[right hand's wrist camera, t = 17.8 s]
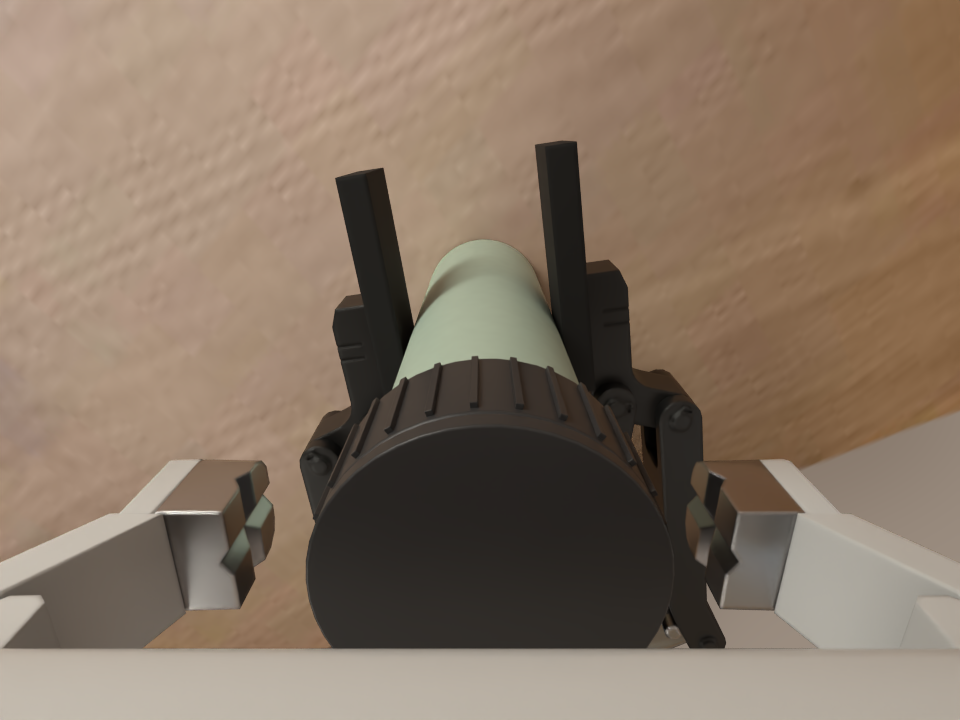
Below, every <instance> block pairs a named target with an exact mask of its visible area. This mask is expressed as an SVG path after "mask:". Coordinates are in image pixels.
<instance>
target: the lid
mask: <svg viewBox="0 0 960 720" xmlns="http://www.w3.org/2000/svg"><path fill="white" fill-rule="evenodd" d="M655 496H658V494H657V492H656V490H655V488H654V485H653V483H652V481H651V479H650V477H649V475H648V473H647V471H646V469H645V467H644V465H643V463H642V461H641V459H640V457H639V455H638V453H637V451H636V449H635V447H634V445H633V443H632V441H631V439H630V437H629V435H628V433H627V431H626V432H624V433H623V432H622V430H621V428H620V426H619V424H618V422H617V420H616V418H615V416H614V414H613V412H612V409H611V408H610V407H609V406H608V405H606V406H603V405H602V404H601V403H600V402H599V401H598V400H596V399H595V398H594V397H593V396H592V395H591V394H590V393H589V392H588V390H587V388H586V385H584V384H583V383H582V382H580V383H579V384H576V383H575V382H573V381H571V380H569V379H568V378H566V377H564V376H562V375H560V374H558V373H556V372H554V368H553V367H550V366H547V367H546V369H545V368H543V367H540V366H537V365H533V364H529V363H524V362H520V361H517V358H516V357H510V360H505V359H479V358H478V356H472V357H471V360H464V361H457V362H452V363H448V364H445V365H441V363H440V362H439V363H436V364H434V368H431V369H429V370H427V371H424V372H422V373H419V374H417V375H415V376H413V377H411V378H410V379H407V378H406V377H404V378H402V379H401V380H400V382H399V385H398V386H396V387H395V388H394V389H392V390H391V391H390V392H389V393H387V394H386V395H385V396H383V397H382V398H381V399H380V400H379V399H378V398H375V399H374V400H373V402H372V404H371V407H370V409H369V411H368V413H367V415H366V416H365V417H364V419H363V420H362V422H361V423H360V424H359V425H358V424H356V423H355V424H354V425H353V427H352V429H351V431H350V434H349V436H348V438H347V440H346V443H345V445H344V447H343V449H342V452H341V454H340V456H339V458H338V461H337V463H336V465H335V467H334V470H333V472H332V474H331V476H330V479H329V481H328V483H327V486H326V488H325V490H324V492H323V495H322V497H321V499H320V502H319V504H318V506H317V508H316V511H315V513H314V516H313V519H314V520H317V521H316V523H315V526H314V529H313V532H312V535H311V538H310V541H309V546H308V552H307V557H306V584H307V591H308V597H309V602H310V605H311V608H312V611H313V614H314V617H315V619H316V621H317V623H318V625H319V627H320V629H321V631H322V633H323V635H324V637H325V638H326V640H327V641H328V643H329V644H330V645H331V647H332V648H333V649H647V647H648V646H649V644H650V643H651V641H652V640H653V638H654V637H655V635H656V634H657V632H658V630H659V628H660V626H661V624H662V622H663V620H664V618H665V616H666V613H667V610H668V606H669V603H670V600H671V596H672V589H673V581H674V555H673V550H672V546H671V541H670V536H669V533H668V531H667V530H668V529H669V528H668V523H667V521H666V519H665V517H664V515H663V513H662V511H661V509H660V507H659V505H658V503H657V500H656V498H655Z"/></svg>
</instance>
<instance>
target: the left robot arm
mask: <svg viewBox="0 0 960 720" xmlns="http://www.w3.org/2000/svg"><path fill="white" fill-rule="evenodd" d="M535 149H536V159H537V169H538V179H539V189H540V199H541V209H542V218H543V228H544V238H545V248H546V258H547V268H548V278H549V288H550V298H551V308H552V317H553V319H554V322H555V324H556V327H557V329H558V332H559V334H560V337H561V340H562V342H563V345H564V347H565V350H566V352H567V355H568V357H569V360H570V362H571V365H572V367H573V370H574V372H575V375H576V377H577V380H578V383H580V382H582V383H583V384H584V385H586V388H587V390H588V392H589V393H590V394H591V395H592V396H593V397H594V398H595V399H596V400H598V401H599V402H600V403H601V404H602V405H603V406H606V405H608V406H609V407H610V408H611V409H612V412H613V414H614V416H615V418H616V420H617V422H618V424H619V426H620V428H621V430H622V432H623V433H624V432H626V431H627V433H628V435H629V437H630V439H631V438H632V433H633V427H634V424H637V425H641V438H642V452H643V465H644V467H645V469H646V471H647V473H648V475H649V477H650V479H651V481H652V483H653V485H654V488H655V490H656V492H657V494H658V496H655V498H656V500H657V503H658V505H659V507H660V509H661V511H662V513H663V515H664V517H665V519H666V521H667V523H668V528H669V529H668V530H667V531H668V533H669V536H670V541H671V546H672V550H673V555H674V581H673V589H672V596H671V600H670V603H669V606H668V610H667V613H666V616H665V618H664V620H663V622H662V624H661V626H660V628H659V630H658V632H657V634H656V635H655V637H654V638H653V640H652V641H651V643H650V644H649V646H648V647H647V649H672V648H674V647H677V646H679V645H682V644H684V643H687V644H688V646H689V648H690V649H724V648H725V645H726V641H725V637H724V635H723V633H722V631H721V629H720V627H719V625H718V623H717V621H716V619H715V617H714V615H713V612H712V610H711V608H710V606H709V604H708V602H707V593H706V581H705V579H704V578H705V572H706V567H705V566H704V565H702V564H701V563H699V562H698V561H696V560H695V559H694V557H693V555H692V553H691V551H690V548H689V545H688V541H687V538H686V527H685V518H686V509H687V504H688V503H689V502H690V501H691V500H692V499H693V498H694V497H695V496H696V495H697V493H696V491H695V490H694V488H693V486H692V485H691V483H690V482H691V476H692V471H693V468H694V466H695V463H696V462H700V461H703V433H702V415H701V411H700V410H699V408H698V407H697V406H696V405H695V403H694V402H693V401H692V399H691V398H690V397H689V396H688V394H687V393H686V392H685V391H684V389H683V388H682V387H681V386H680V384H679V383H678V382H677V381H676V380H675V378H674V377H673V376H672V375H671V374H670V373H669V372H667V371H665V370H653V371H650V372H646V371H641V370H637V369H634V368H632V362H631V342H630V324H629V309H628V306H629V303H628V287H627V285H626V283H625V281H624V279H623V277H622V275H621V273H620V271H619V270H618V269H617V268H616V267H615V266H614V265H613V264H612V263H611V262H610V261H609V260H603V261H596V262H589V263H586V257H585V244H584V231H583V218H582V205H581V192H580V178H579V165H578V152H577V142H575V141H557V142H550V143H543V144H537V145H535ZM335 180H336V184H337V189H338V193H339V198H340V202H341V207H342V211H343V216H344V220H345V225H346V229H347V233H348V238H349V242H350V247H351V251H352V256H353V260H354V265H355V269H356V274H357V278H358V283H359V287H360V292H361V294H358V295H351V296H346V297H345V298H344V299H343V301H342V302H341V303H340V304H339V305H338V307H337V308H336V309H335V314H334V320H333V326H332V328H333V332H334V336H335V340H336V344H337V346H338V353H339V357H340V359H341V365H342V369H343V373H344V377H345V381H346V385H347V389H348V393H349V397H350V401H351V406H350V407H348V408H346V409H344V410H342V411H332V412H329V413H327V414H326V415H325V416H324V417H323V418H322V420H321V422H320V424H319V425H318V427H317V429H316V431H315V432H314V434H313V436H312V438H311V439H310V441H309V443H308V445H307V447H306V449H305V450H304V452H303V454H302V456H301V458H300V469H301V472H302V476H303V480H304V483H305V487H306V491H307V494H308V498H309V502H310V505H311V509H312V513H313V516H314V513H315V511H316V508H317V506H318V504H319V502H320V499H321V497H322V495H323V492H324V490H325V488H326V486H327V483H328V481H329V479H330V476H331V474H332V472H333V470H334V467H335V465H336V463H337V461H338V458H339V456H340V454H341V452H342V449H343V447H344V445H345V443H346V440H347V438H348V436H349V434H350V431H351V429H352V427H353V425H354V424H355V423H356V424H358V425H359V424H360V423H361V422H362V420H363V419H364V417H365V416H366V415H367V413H368V411H369V409H370V407H371V404H372V402H373V400H374V399H375V398H378V399H379V400H380V399H381V398H382V397H383V396H385V395H386V394H387V393H389V392H390V391H391V390H392V389H393V386H394V383H395V380H396V377H397V375H398V372H399V369H400V366H401V363H402V360H403V358H404V355H405V352H406V349H407V346H408V343H409V341H410V338H411V335H412V332H413V329H414V324H413V319H412V314H411V309H410V303H409V298H408V293H407V288H406V283H405V277H404V272H403V267H402V262H401V257H400V252H399V246H398V241H397V236H396V231H395V226H394V220H393V215H392V210H391V205H390V200H389V195H388V189H387V184H386V179H385V174H384V169H383V168H378V169H372V170H365V171H359V172H355V173H351V174H348V175H344V176H341V177H337V178H335ZM316 521H317V520H315V523H316Z"/></svg>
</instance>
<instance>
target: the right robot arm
mask: <svg viewBox="0 0 960 720" xmlns="http://www.w3.org/2000/svg"><path fill="white" fill-rule="evenodd" d="M269 483H270V482H269V477H268V472H267V467H266V465H265V464H264V463H263V462H262V461H254V460H202V459H181V460H172V461H169V462H168V463H167V464H166V465H165V466H164V467H163V468H162V470H161V471H160V472H159V473H158V474H157V475H156V476H155V477H154V478H153V479H152V480H151V481H150V482H149V483H148V484H147V485H146V486H145V487H144V488H143V489H142V490H141V491H140V492H139V493H138V494H137V495H136V496H135V497H134V499H133V500H132V501H131V502H130V503H129V504H128V505H127V506H126V507H125V508H124V509H123V510H122V511H121V512H120V513H114V514H107V515H105V516H103V517H100V518H98V519H96V520H94V521H92V522H89V523H87V524H85V525H83V526H80V527H78V528H76V529H74V530H72V531H69V532H67V533H65V534H63V535H60V536H58V537H56V538H54V539H52V540H49V541H47V542H45V543H43V544H40V545H38V546H36V547H34V548H32V549H29V550H27V551H25V552H23V553H20V554H18V555H16V556H14V557H12V558H9V559H7V560H5V561H3V562H0V720H960V563H959V562H957V561H955V560H953V559H950V558H948V557H946V556H944V555H942V554H939V553H937V552H935V551H933V550H930V549H928V548H926V547H924V546H922V545H919V544H917V543H915V542H913V541H911V540H908V539H906V538H904V537H902V536H899V535H897V534H895V533H893V532H891V531H888V530H886V529H884V528H882V527H879V526H877V525H875V524H873V523H871V522H868V521H866V520H864V519H862V518H860V517H857V516H855V515H853V514H846V513H844V514H843V513H840V512H839V511H838V510H837V509H836V508H835V507H834V506H833V505H832V504H831V503H830V502H829V501H828V499H827V498H826V497H825V496H824V495H823V494H822V493H821V492H820V491H819V490H818V489H817V488H816V487H815V486H814V485H813V484H812V483H811V482H810V481H809V480H808V479H807V478H806V477H805V476H804V475H803V474H802V472H801V471H800V470H799V469H798V468H797V467H796V466H795V465H794V464H793V463H792V462H791V461H788V460H785V459H768V460H732V461H700V462H696V463H695V466H694V468H693V471H692V476H691V482H690V483H691V485H692V486H693V488H694V490H695V491H696V493H697V495H696V496H695V497H694V498H693V499H692V500H691V501H690V502H689V503H688V504H687V509H686V518H685V527H686V538H687V541H688V545H689V548H690V551H691V553H692V555H693V557H694V559H695V560H696V561H698V562H699V563H701V564H702V565H704V566H705V567H706V572H705V578H704V579H705V581H706V583H707V584H708V586H709V588H710V590H711V592H712V594H713V596H714V598H715V600H716V602H717V604H718V606H719V608H720V609H739V610H774V613H775V614H776V615H777V616H779V617H780V618H781V619H782V620H784V621H785V622H786V623H787V624H789V625H790V626H791V627H792V628H794V629H795V630H796V631H797V632H798V633H800V634H801V635H802V636H803V637H805V638H806V639H807V640H808V641H810V642H811V643H812V644H813V645H815V646H816V647H817V648H818V649H142V648H143V647H144V646H146V645H147V644H148V643H149V642H151V641H152V640H153V639H154V638H156V637H157V636H158V635H159V634H161V633H162V632H163V631H164V630H166V629H167V628H168V627H169V626H171V625H172V624H173V623H174V622H175V621H177V620H178V619H179V618H180V617H182V616H183V615H184V614H185V613H186V610H221V609H240V608H241V606H242V604H243V602H244V600H245V598H246V596H247V594H248V592H249V590H250V588H251V586H252V585H253V583H254V581H255V579H256V578H255V572H254V567H255V566H256V565H258V564H259V563H261V562H262V561H264V560H265V559H266V557H267V555H268V553H269V550H270V548H271V545H272V540H273V536H274V531H275V516H274V509H273V504H272V503H271V502H270V501H269V500H268V499H267V498H266V497H265V496H264V495H263V493H264V491H265V490H266V488H267V486H268V485H269Z"/></svg>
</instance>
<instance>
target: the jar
mask: <svg viewBox="0 0 960 720" xmlns="http://www.w3.org/2000/svg"><path fill="white" fill-rule="evenodd" d="M472 356H478V358H479V359H505V360H510V357H516V358H517V361H520V362H524V363H529V364H533V365H537V366H540V367H543V368H545V369H546V367H547V366H550V367H553V368H554V372H556V373H558V374H560V375H562V376H564V377H566V378H568V379H569V380H571V381H573V382H575V383H576V384H579V383H578V380H577V377H576V375H575V372H574V370H573V367H572V365H571V362H570V360H569V357H568V355H567V352H566V350H565V347H564V345H563V342H562V340H561V337H560V334H559V332H558V329H557V327H556V324H555V322H554V319H553V317H552V314H551V312H550V309H549V307H548V304H547V302H546V299H545V297H544V294H543V292H542V289H541V286H540V284H539V281H538V279H537V276H536V274H535V271H534V270H533V268H532V266H531V264H530V263H529V261H528V260H527V259H526V258H525V257H524V256H523V255H522V254H521V253H520V252H519V251H518V250H516V249H515V248H513V247H511V246H510V245H507V244H505V243H502V242H499V241H494V240H474V241H470V242H466V243H464V244H461V245H459V246H457V247H456V248H454V249H453V250H451V251H450V252H448V253H447V254H446V255H445V256H444V257H443V258H442V260H441V261H440V262H439V263H438V265H437V267H436V269H435V271H434V273H433V275H432V278H431V281H430V284H429V287H428V289H427V292H426V295H425V298H424V301H423V304H422V306H421V309H420V312H419V315H418V318H417V321H416V323H415V326H414V329H413V332H412V335H411V338H410V341H409V343H408V346H407V349H406V352H405V355H404V358H403V360H402V363H401V366H400V369H399V372H398V375H397V377H396V380H395V383H394V386H393V389H394V388H395V387H396V386H398V385H399V382H400V380H401V379H402V378H404V377H406V378H407V379H410V378H411V377H413V376H415V375H417V374H419V373H422V372H424V371H427V370H429V369H431V368H434V364H436V363H439V362H440V363H441V365H445V364H448V363H452V362H457V361H464V360H471V357H472Z"/></svg>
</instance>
